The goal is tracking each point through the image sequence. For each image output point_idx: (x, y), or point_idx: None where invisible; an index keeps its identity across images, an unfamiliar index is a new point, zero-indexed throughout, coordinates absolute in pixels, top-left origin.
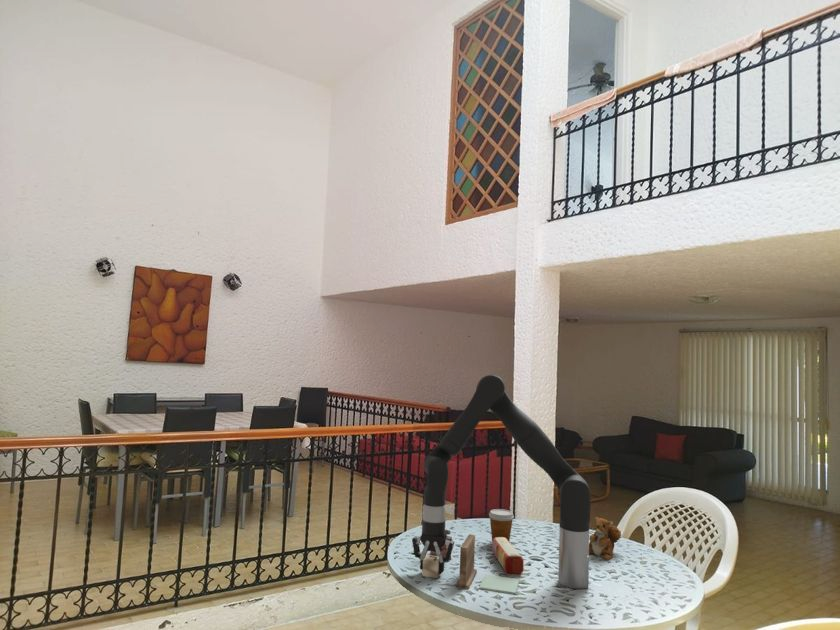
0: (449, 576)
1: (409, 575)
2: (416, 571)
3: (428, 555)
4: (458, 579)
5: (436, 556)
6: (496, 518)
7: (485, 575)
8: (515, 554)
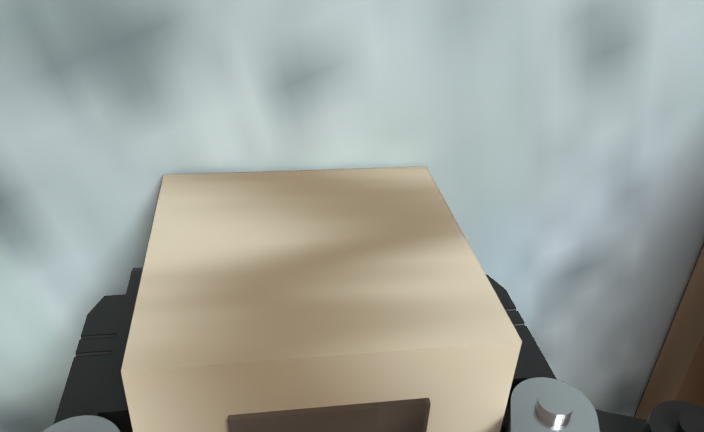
0: (556, 233)
1: (7, 409)
2: (20, 257)
3: (178, 395)
4: (681, 385)
5: (391, 369)
6: None
7: None
8: None
